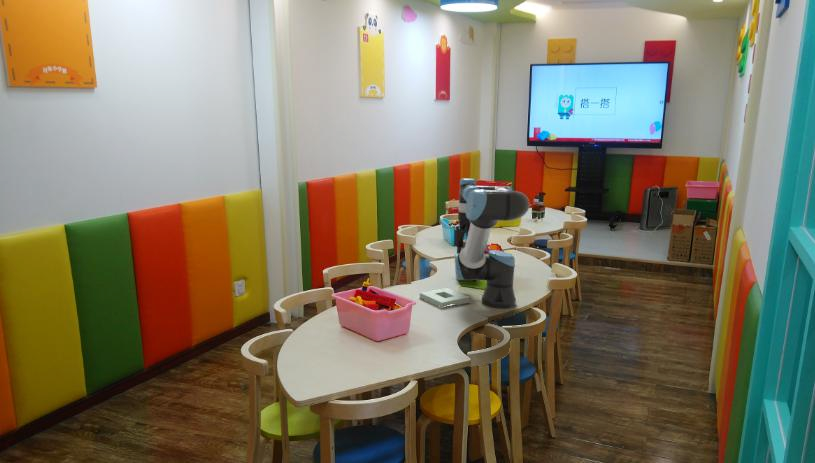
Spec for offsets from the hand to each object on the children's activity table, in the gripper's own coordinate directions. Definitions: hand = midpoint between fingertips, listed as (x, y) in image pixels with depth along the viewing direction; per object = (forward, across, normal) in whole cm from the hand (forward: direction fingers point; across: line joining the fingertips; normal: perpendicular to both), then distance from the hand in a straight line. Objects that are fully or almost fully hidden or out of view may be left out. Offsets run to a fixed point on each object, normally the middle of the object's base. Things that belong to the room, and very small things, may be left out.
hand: (463, 259), depth 275 cm
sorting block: (+14, +19, +10) cm, 26 cm away
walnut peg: (+4, 0, 0) cm, 4 cm away
